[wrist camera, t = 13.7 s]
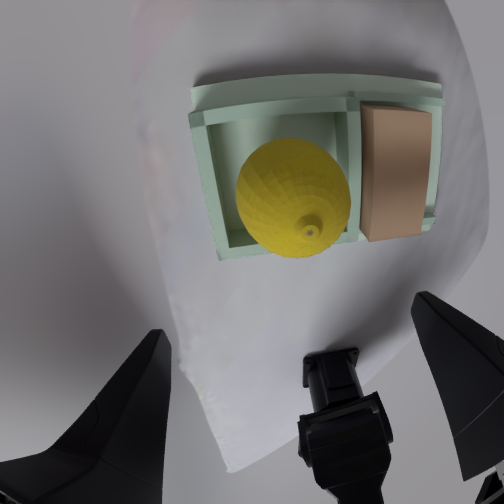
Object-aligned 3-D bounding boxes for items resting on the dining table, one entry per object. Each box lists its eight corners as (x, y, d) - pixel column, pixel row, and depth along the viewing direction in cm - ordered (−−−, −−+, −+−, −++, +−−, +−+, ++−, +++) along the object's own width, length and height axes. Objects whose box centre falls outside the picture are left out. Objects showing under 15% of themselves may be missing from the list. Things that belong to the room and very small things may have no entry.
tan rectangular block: (400, 214, 19) (420, 234, 16) (352, 219, 19) (369, 242, 16) (405, 106, 14) (431, 113, 12) (351, 104, 15) (373, 109, 12)
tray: (424, 224, 21) (444, 244, 18) (224, 252, 21) (223, 278, 19) (433, 83, 14) (461, 87, 12) (192, 88, 15) (183, 88, 12)
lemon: (312, 118, 15) (369, 146, 9) (329, 198, 18) (379, 269, 12) (223, 142, 16) (213, 188, 9) (250, 220, 19) (259, 304, 12)
